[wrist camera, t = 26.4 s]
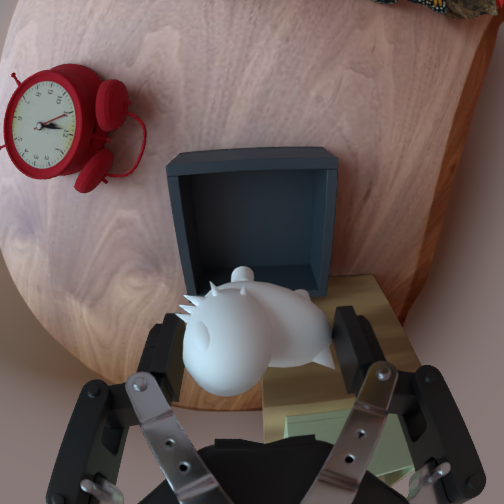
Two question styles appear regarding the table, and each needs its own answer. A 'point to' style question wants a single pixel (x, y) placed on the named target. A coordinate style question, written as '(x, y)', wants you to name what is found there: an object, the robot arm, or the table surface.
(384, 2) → the butterfly
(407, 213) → the table surface
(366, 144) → the table surface
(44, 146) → the alarm clock
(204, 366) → the toy creature
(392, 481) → the pale bin
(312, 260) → the dark bin
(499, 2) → the animal figurine
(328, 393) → the stand
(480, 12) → the bark log
